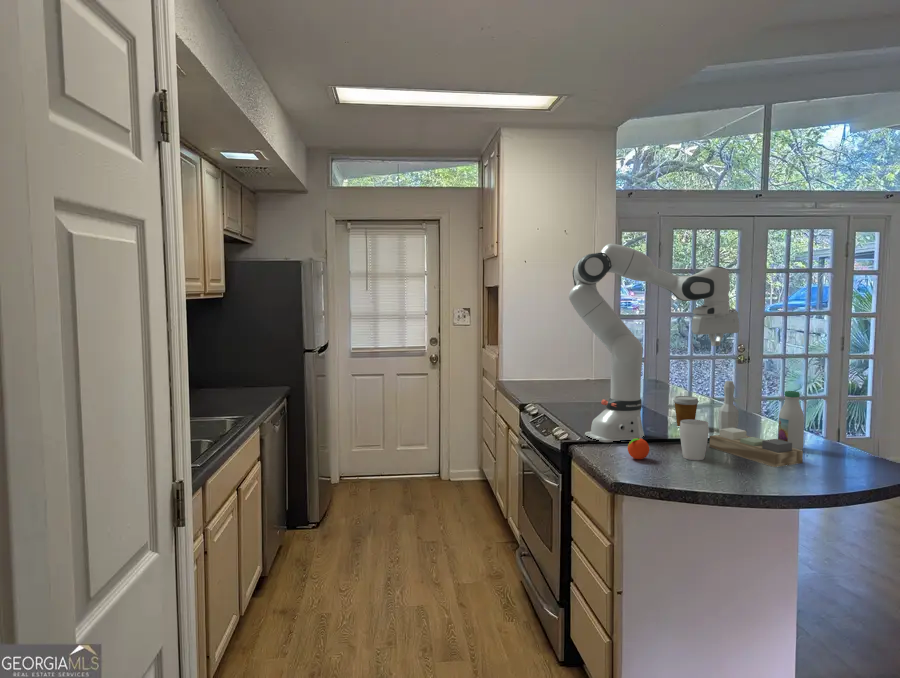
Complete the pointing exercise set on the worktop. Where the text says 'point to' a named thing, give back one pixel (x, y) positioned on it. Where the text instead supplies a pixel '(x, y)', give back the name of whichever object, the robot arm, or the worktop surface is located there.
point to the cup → (693, 438)
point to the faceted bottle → (728, 408)
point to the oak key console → (756, 452)
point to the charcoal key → (777, 445)
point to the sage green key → (752, 441)
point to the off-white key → (732, 433)
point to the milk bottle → (791, 421)
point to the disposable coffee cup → (685, 408)
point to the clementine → (638, 448)
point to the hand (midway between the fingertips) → (715, 345)
